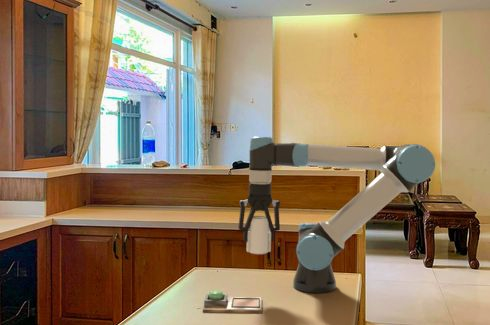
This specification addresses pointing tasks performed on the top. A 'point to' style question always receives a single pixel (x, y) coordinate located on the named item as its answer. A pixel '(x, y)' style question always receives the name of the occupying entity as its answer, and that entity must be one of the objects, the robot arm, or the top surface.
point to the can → (259, 235)
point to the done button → (216, 295)
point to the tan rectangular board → (233, 304)
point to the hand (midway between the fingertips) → (258, 251)
